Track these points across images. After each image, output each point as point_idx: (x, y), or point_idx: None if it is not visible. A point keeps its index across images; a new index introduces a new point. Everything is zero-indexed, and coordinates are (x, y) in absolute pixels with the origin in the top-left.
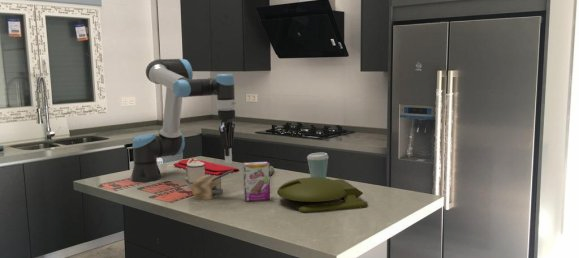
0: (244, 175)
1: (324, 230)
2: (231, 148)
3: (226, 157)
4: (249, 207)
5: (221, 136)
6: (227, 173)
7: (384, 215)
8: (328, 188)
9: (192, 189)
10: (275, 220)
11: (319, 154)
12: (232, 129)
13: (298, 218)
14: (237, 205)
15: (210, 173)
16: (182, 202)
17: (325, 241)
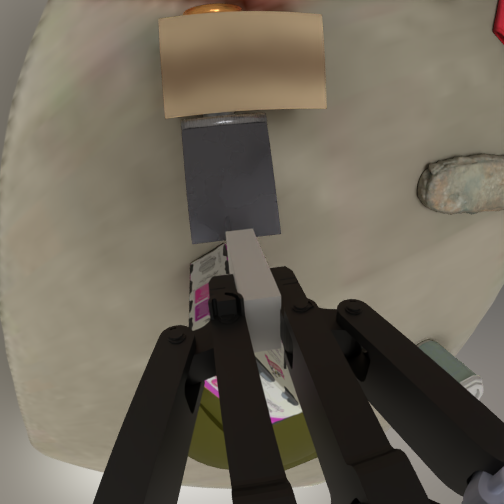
0: (193, 328)
1: (93, 445)
2: (279, 345)
3: (231, 266)
4: (138, 301)
5: (114, 467)
6: (191, 236)
7: (207, 478)
8: (227, 468)
9: (185, 12)
10: (83, 386)
11: (475, 395)
12: (444, 477)
13: (121, 414)
14: (140, 256)
15: (500, 4)
16: (107, 27)
17: (58, 446)
